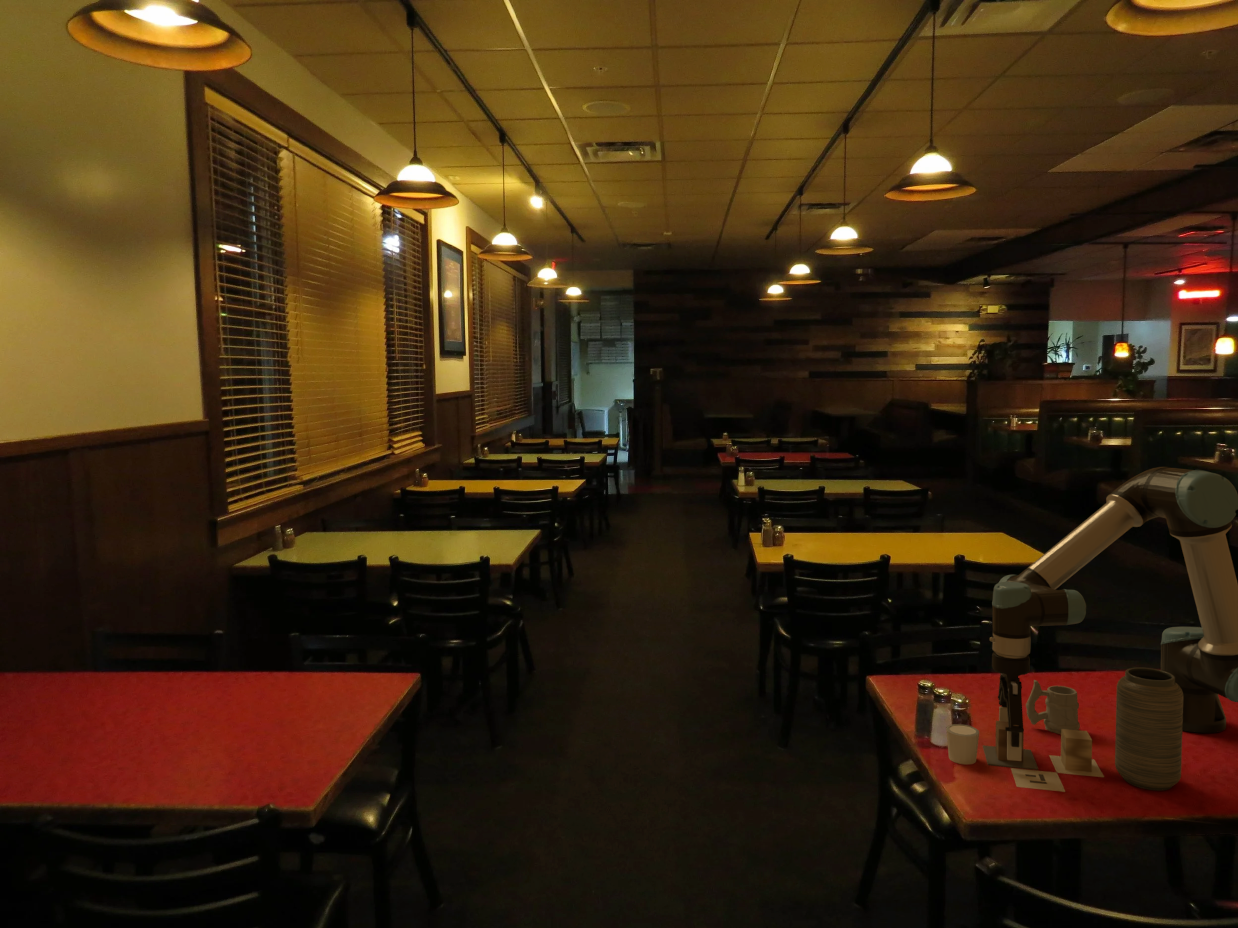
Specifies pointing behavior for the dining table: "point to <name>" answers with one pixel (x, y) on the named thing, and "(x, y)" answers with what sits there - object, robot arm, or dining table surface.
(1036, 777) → the white marker tile
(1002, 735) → the walnut block
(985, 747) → the slate coaster
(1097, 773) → the maple tile
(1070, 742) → the maple block
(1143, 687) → the vase
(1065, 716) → the mug
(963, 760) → the beige short cylinder
